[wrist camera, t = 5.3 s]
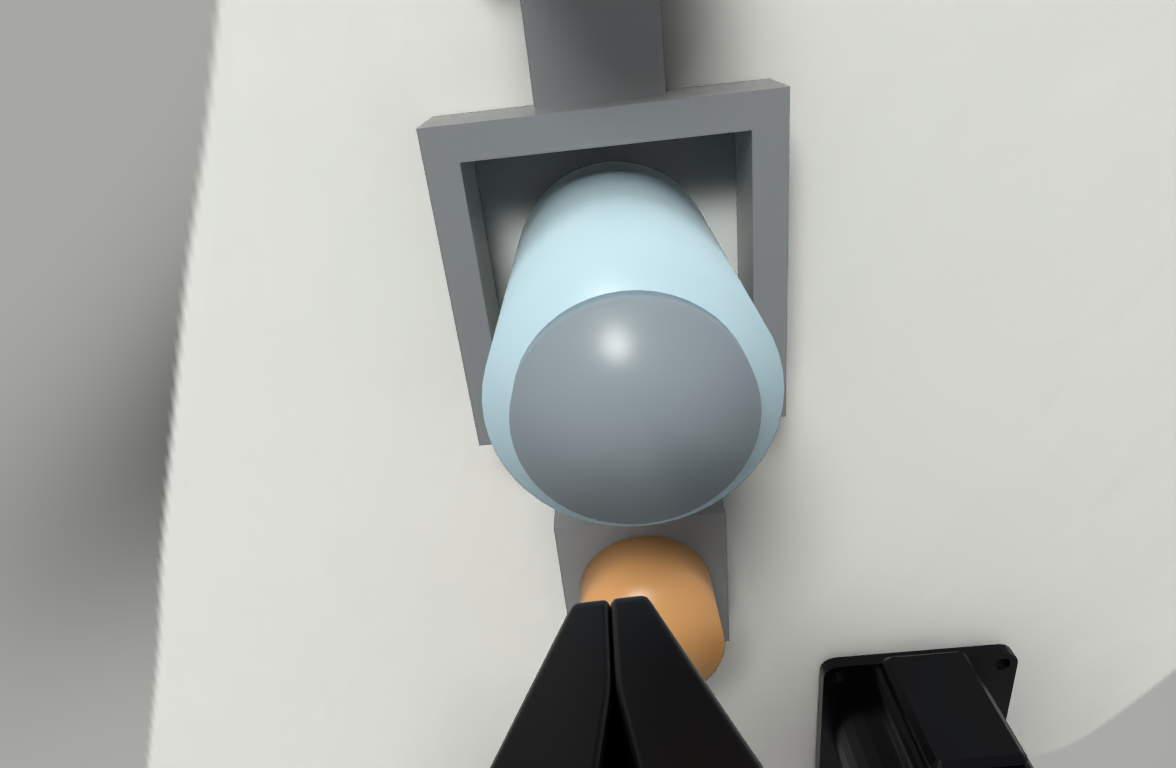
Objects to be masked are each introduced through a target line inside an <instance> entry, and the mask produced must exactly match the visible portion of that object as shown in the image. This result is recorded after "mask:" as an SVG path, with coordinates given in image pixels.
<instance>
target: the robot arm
mask: <svg viewBox="0 0 1176 768" xmlns="http://www.w3.org/2000/svg"><path fill="white" fill-rule="evenodd" d="M1017 664H1018V660H1017V658H1016V656H1015V655H1014V653H1013V652H1012V650H1011V649H1010V648H1009V647H1008V646H1006V645H1001V644H997V645H985V646H973V647H960V648H948V649H936V650H924V651H911V652H899V653H887V654H875V655H863V656H850V657H838V658H832V659H829V660H827V661H825V662H824V663H823V664H822V665H821V668H820V684H819V706H818V729H817V751H816V768H1033V766H1032V764H1031V763H1030V761H1029V760H1028V758H1027V755H1026V753H1025V752H1024V750H1023V748H1022V747H1021V745H1020V743H1019V741H1018V740H1017V738H1016V736H1015V735H1014V733H1013V731H1012V730H1011V728H1010V726H1009V725H1008V723H1007V721H1006V717H1007V712H1008V708H1009V703H1010V698H1011V693H1012V688H1013V683H1014V678H1015V674H1016V669H1017ZM837 672H838V673H837ZM834 673H835V674H834ZM490 768H763V766H762V765H761V763H760V762H759V760H758V759H757V757H756V756H755V754H754V753H753V752H752V750H751V749H750V747H749V746H748V744H747V743H746V741H745V740H744V738H743V737H742V735H741V734H740V732H739V731H738V729H737V728H736V726H735V725H734V724H733V722H732V721H731V719H730V718H729V716H728V715H727V713H726V712H725V710H724V709H723V707H722V706H721V704H720V703H719V701H718V700H717V698H716V697H715V695H714V694H713V693H712V691H711V690H710V688H709V687H708V685H707V684H706V682H705V681H704V679H703V678H702V676H701V675H700V673H699V672H698V670H697V669H696V667H695V666H694V664H693V663H692V662H691V660H690V659H689V657H688V656H687V654H686V653H685V651H684V650H683V648H682V647H681V645H680V644H679V642H678V641H677V639H676V638H675V636H674V635H673V633H672V632H671V631H670V629H669V628H668V626H667V625H666V623H665V622H664V620H663V619H662V617H661V616H660V614H659V613H658V611H657V610H656V608H655V607H654V605H653V604H652V602H651V601H650V600H649V599H648V598H647V597H645V596H634V597H625V598H617V599H614V600H613V601H612V602H611V606H610V604H609V603H608V602H607V601H605V600H600V601H591V602H583V603H576V604H574V605H573V606H572V607H571V609H570V610H569V612H568V614H567V616H566V618H565V620H564V622H563V624H562V626H561V628H560V630H559V632H558V634H557V636H556V638H555V640H554V642H553V644H552V646H551V648H550V650H549V652H548V654H547V656H546V658H545V660H544V662H543V664H542V666H541V668H540V670H539V672H538V674H537V676H536V678H535V680H534V682H533V684H532V686H531V687H530V689H529V691H528V693H527V695H526V697H525V699H524V701H523V703H522V705H521V707H520V709H519V711H518V713H517V715H516V717H515V719H514V721H513V723H512V725H511V727H510V729H509V731H508V733H507V735H506V737H505V739H504V741H503V743H502V745H501V747H500V749H499V751H498V753H497V755H496V757H495V759H494V761H493V763H492V765H491V767H490Z"/></svg>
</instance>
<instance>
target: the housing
mask: <svg viewBox="0 0 1176 768" xmlns="http://www.w3.org/2000/svg"><path fill="white" fill-rule="evenodd" d="M520 1H521V9H522V16H523V24H524V32H525V39H526V47H527V55H528V62H529V70H530V78H531V85H532V93H533V101H534V105H531V106H523V107H514V108H505V109H496V110H487V111H479V112H470V113H461V114H452V115H443V116H435V117H432V118H430V119H429V120H428V121H426V122H425V123H424V124H422V125H421V126H419V127H418V128H417V129H416V130H417V135H418V140H419V145H420V150H421V155H422V160H423V165H424V170H425V175H426V180H427V185H428V190H429V195H430V200H431V205H432V210H433V215H434V220H435V225H436V230H437V235H438V240H439V245H440V250H441V255H442V260H443V265H444V270H445V275H446V280H447V285H448V290H449V295H450V300H451V305H452V310H453V316H454V321H455V326H456V331H457V336H458V341H459V346H460V351H461V356H462V361H463V366H464V371H465V376H466V381H467V386H468V391H469V396H470V401H471V406H472V411H473V416H474V421H475V426H476V431H477V436H478V441H479V446H480V445H490V444H492V443H491V440H490V438H489V436H488V432H487V429H486V425H485V421H484V416H483V407H482V384H483V378H484V373H485V367H486V363H487V359H488V356H489V352H490V348H491V345H492V341H493V337H494V333H495V330H496V326H497V322H498V319H499V315H500V311H499V306H498V300H497V294H496V288H495V282H494V276H493V270H492V264H491V258H490V253H489V247H488V241H487V235H486V229H485V223H484V217H483V211H482V205H481V199H480V194H479V188H478V182H477V176H476V170H475V164H474V161H479V160H488V159H497V158H506V157H515V156H524V155H533V154H542V153H551V152H560V151H569V150H578V149H587V148H596V147H605V146H614V145H623V144H632V143H641V142H650V141H659V140H668V139H677V138H686V137H695V136H704V135H713V134H722V133H731V132H736V185H737V243H738V278H739V280H740V281H741V283H742V285H743V287H744V288H745V290H746V292H747V294H748V295H749V297H750V299H751V300H752V302H753V304H754V306H755V307H756V309H757V311H758V313H759V314H760V316H761V318H762V319H763V321H764V323H765V325H766V326H767V328H768V330H769V332H770V334H771V335H772V337H773V339H774V342H775V345H776V347H777V350H778V352H779V355H780V360H781V365H782V369H783V378H784V399H783V409H782V413H781V417H784V416H786V343H787V267H788V192H789V116H790V86H787V85H785V84H782V83H779V82H777V81H774V80H771V79H760V80H751V81H743V82H734V83H725V84H716V85H707V86H699V87H690V88H681V89H672V90H666V88H665V70H664V52H663V34H662V16H661V0H520ZM554 533H555V539H556V545H557V552H558V558H559V564H560V571H561V577H562V584H563V590H564V596H565V603H566V609H567V614H568V612H569V610H570V609H571V607H572V606H573V605H574V604H576V603H580V583H581V578H582V575H583V572H584V570H585V568H586V567H587V565H588V564H589V562H590V561H591V560H592V559H593V558H594V556H596V555H597V554H598V553H599V552H600V551H602V550H603V549H605V548H606V547H608V546H610V545H612V544H614V543H616V542H618V541H621V540H624V539H628V538H632V537H639V536H657V537H664V538H668V539H672V540H675V541H678V542H680V543H682V544H684V545H686V546H688V547H689V548H691V549H692V550H693V551H695V552H696V553H697V554H698V555H699V556H700V557H701V558H702V560H703V561H704V563H705V564H706V566H707V568H708V570H709V573H710V577H711V581H712V586H713V590H714V594H715V599H716V603H717V608H718V612H719V617H720V621H721V626H722V630H723V634H724V641H728V640H729V619H728V585H727V551H726V518H725V510H724V506H723V503H722V499H720V500H718V501H717V502H715V503H714V504H712V505H710V506H708V507H706V508H704V509H702V510H700V511H698V512H696V513H693V514H691V515H688V516H685V517H683V518H680V519H676V520H672V521H668V522H665V523H660V524H653V525H646V526H612V525H604V524H598V523H593V522H588V521H585V520H581V519H578V518H575V517H572V516H569V515H567V514H565V513H562V512H560V511H557V510H556V509H555V517H554Z"/></svg>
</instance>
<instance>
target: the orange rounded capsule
mask: <svg viewBox="0 0 1176 768" xmlns="http://www.w3.org/2000/svg"><path fill="white" fill-rule="evenodd" d="M634 596H645V597H647V598H648V599H649V600H650V601H651V602H652V604H653V605H654V607H655V608H656V610H657V611H658V613H659V614H660V616H661V617H662V619H663V620H664V622H665V623H666V625H667V626H668V628H669V629H670V631H671V632H672V633H673V635H674V636H675V638H676V639H677V641H678V642H679V644H680V645H681V647H682V648H683V650H684V651H685V653H686V654H687V656H688V657H689V659H690V660H691V662H692V663H693V664H694V666H695V667H696V669H697V670H698V672H699V673H700V675H701V676H702V678H703V679H704V681H706V680H707V679H708V678H709V677H710V676H711V675H712V674H713V673H714V672H715V670H716V669H717V667H718V666H719V664H720V662H721V659H722V657H723V653H724V646H725V641H724V634H723V630H722V626H721V621H720V617H719V612H718V608H717V603H716V599H715V594H714V590H713V586H712V581H711V577H710V573H709V570H708V568H707V566H706V564H705V563H704V561H703V560H702V558H701V557H700V556H699V555H698V554H697V553H696V552H695V551H693V550H692V549H691V548H689V547H688V546H686V545H684V544H682V543H680V542H678V541H675V540H672V539H668V538H664V537H657V536H639V537H632V538H628V539H624V540H621V541H618V542H616V543H614V544H612V545H610V546H608V547H606V548H605V549H603V550H602V551H600V552H599V553H598V554H597V555H596V556H594V558H593V559H592V560H591V561H590V562H589V564H588V565H587V567H586V568H585V570H584V572H583V575H582V578H581V583H580V603H583V602H591V601H600V600H605V601H607V602H608V603H609V604H610V606H611V602H612V601H613V600H614V599H617V598H625V597H634Z"/></svg>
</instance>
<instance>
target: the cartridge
mask: <svg viewBox="0 0 1176 768" xmlns="http://www.w3.org/2000/svg"><path fill="white" fill-rule="evenodd" d="M783 399H784V378H783V369H782V365H781V360H780V355H779V352H778V350H777V347H776V345H775V342H774V339H773V337H772V335H771V334H770V332H769V330H768V328H767V326H766V325H765V323H764V321H763V319H762V318H761V316H760V314H759V313H758V311H757V309H756V307H755V306H754V304H753V302H752V300H751V299H750V297H749V295H748V294H747V292H746V290H745V288H744V287H743V285H742V283H741V281H740V280H739V278H738V276H737V274H736V273H735V271H734V269H733V268H732V266H731V264H730V262H729V261H728V259H727V257H726V255H725V254H724V252H723V250H722V248H721V247H720V245H719V243H718V242H717V240H716V238H715V236H714V235H713V233H712V231H711V229H710V228H709V226H708V224H707V223H706V221H705V219H704V217H703V216H702V214H701V212H700V210H699V209H698V207H697V205H696V203H695V202H694V201H693V200H692V198H691V197H690V196H689V194H688V193H687V192H686V191H685V190H684V189H683V188H682V187H681V186H680V185H679V184H678V183H676V182H675V181H673V180H672V179H671V178H669V177H668V176H666V175H664V174H663V173H661V172H659V171H657V170H655V169H652V168H649V167H647V166H644V165H639V164H635V163H629V162H603V163H597V164H592V165H589V166H586V167H583V168H580V169H577V170H575V171H573V172H571V173H569V174H567V175H566V176H564V177H562V178H561V179H559V180H558V181H556V182H555V183H554V184H553V185H552V186H551V187H549V188H548V189H547V190H546V191H545V192H544V193H543V195H542V196H541V197H540V198H539V199H538V200H537V202H536V203H535V205H534V206H533V208H532V209H531V211H530V213H529V215H528V217H527V219H526V221H525V224H524V227H523V230H522V233H521V237H520V240H519V244H518V248H517V252H516V255H515V259H514V263H513V266H512V270H511V274H510V278H509V281H508V285H507V289H506V292H505V296H504V300H503V304H502V307H501V311H500V315H499V319H498V322H497V326H496V330H495V333H494V337H493V341H492V345H491V348H490V352H489V356H488V359H487V363H486V367H485V373H484V378H483V384H482V407H483V416H484V421H485V425H486V429H487V432H488V436H489V438H490V440H491V443H492V445H493V447H494V450H495V452H496V454H497V455H498V457H499V458H500V460H501V462H502V463H503V465H504V466H505V468H506V469H507V470H508V471H509V473H510V474H511V475H512V476H513V478H514V479H515V480H516V481H517V482H518V483H519V484H520V485H521V486H522V487H524V488H525V489H526V490H527V491H528V492H529V493H531V494H532V495H533V496H535V497H536V498H537V499H539V500H540V501H541V502H543V503H545V504H547V505H548V506H550V507H552V508H554V509H556V510H557V511H560V512H562V513H565V514H567V515H569V516H572V517H575V518H578V519H581V520H585V521H588V522H593V523H598V524H604V525H612V526H646V525H653V524H660V523H665V522H668V521H672V520H676V519H680V518H683V517H685V516H688V515H691V514H693V513H696V512H698V511H700V510H702V509H704V508H706V507H708V506H710V505H712V504H714V503H715V502H717V501H718V500H720V499H721V498H723V497H724V496H726V495H728V494H729V493H730V492H731V491H732V490H734V489H735V488H736V487H737V486H738V485H740V484H741V483H742V482H743V481H744V480H745V479H746V478H747V477H748V476H749V474H750V473H751V472H752V471H753V470H754V469H755V468H756V466H757V465H758V463H759V462H760V461H761V459H762V458H763V457H764V455H765V453H766V451H767V450H768V448H769V446H770V444H771V442H772V441H773V438H774V435H775V433H776V430H777V428H778V425H779V421H780V417H781V413H782V409H783Z"/></svg>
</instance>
